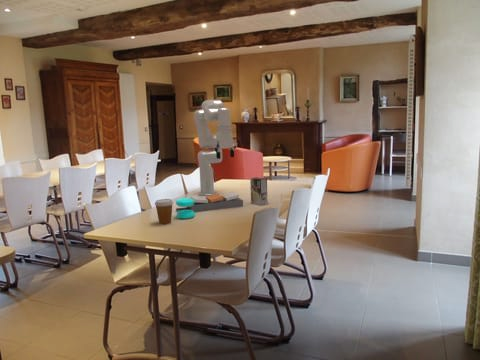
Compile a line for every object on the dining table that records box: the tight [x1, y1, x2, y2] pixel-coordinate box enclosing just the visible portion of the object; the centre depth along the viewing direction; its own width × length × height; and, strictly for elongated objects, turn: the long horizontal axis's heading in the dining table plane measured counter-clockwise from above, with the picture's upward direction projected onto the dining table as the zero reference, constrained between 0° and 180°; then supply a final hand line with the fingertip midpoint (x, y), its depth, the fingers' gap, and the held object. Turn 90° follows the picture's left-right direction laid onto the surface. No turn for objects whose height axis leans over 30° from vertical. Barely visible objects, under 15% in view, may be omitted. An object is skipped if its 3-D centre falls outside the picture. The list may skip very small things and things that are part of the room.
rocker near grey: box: [190, 195, 208, 203], centre depth 241 cm, size 10×8×2 cm
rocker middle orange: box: [205, 192, 223, 203], centre depth 244 cm, size 10×8×2 cm
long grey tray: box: [175, 197, 244, 213], centre depth 243 cm, size 13×40×5 cm, turn 112°
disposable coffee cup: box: [154, 198, 174, 225], centre depth 211 cm, size 10×10×12 cm
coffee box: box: [250, 176, 268, 206], centre depth 250 cm, size 9×6×16 cm
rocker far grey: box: [220, 191, 240, 201], centre depth 248 cm, size 10×8×2 cm
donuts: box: [175, 197, 196, 220], centre depth 223 cm, size 10×10×10 cm
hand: (225, 157), depth 240 cm, fingers open, 9 cm apart
